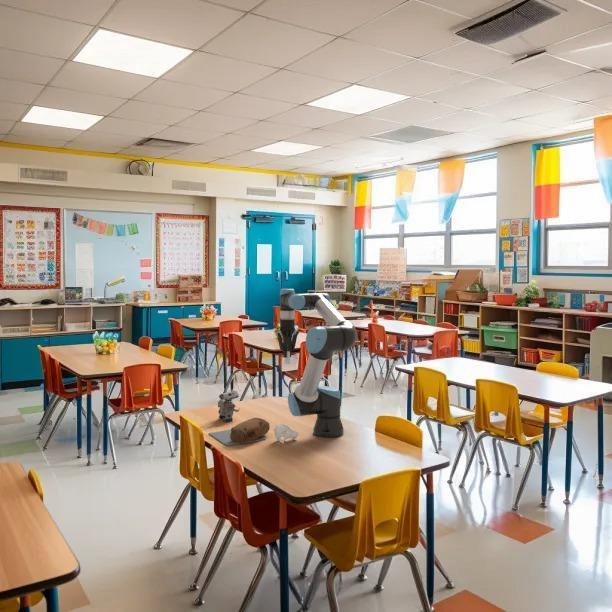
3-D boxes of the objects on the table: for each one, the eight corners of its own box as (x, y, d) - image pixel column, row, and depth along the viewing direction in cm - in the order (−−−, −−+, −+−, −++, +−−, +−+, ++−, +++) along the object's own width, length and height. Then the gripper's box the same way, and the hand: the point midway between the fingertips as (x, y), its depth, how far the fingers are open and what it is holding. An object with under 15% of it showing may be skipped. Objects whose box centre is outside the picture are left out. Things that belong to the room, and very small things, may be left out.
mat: (265, 439, 288) (265, 438, 288) (227, 446, 278) (227, 445, 278) (245, 428, 307) (245, 427, 307) (208, 434, 296) (208, 433, 296)
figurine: (242, 419, 323) (242, 392, 322) (222, 422, 317) (222, 394, 316) (235, 415, 331) (235, 389, 329) (216, 418, 325) (215, 391, 323)
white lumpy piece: (273, 422, 286) (296, 422, 291) (271, 440, 287) (294, 439, 292) (278, 426, 280) (301, 425, 285) (276, 444, 281) (300, 443, 286)
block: (253, 430, 301) (228, 441, 284) (253, 415, 300) (228, 426, 283) (271, 434, 295) (246, 446, 278) (271, 419, 294) (246, 430, 277)
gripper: (294, 317, 316) (294, 361, 318) (272, 318, 309) (272, 363, 311) (301, 318, 309) (301, 363, 311) (279, 319, 303) (279, 365, 305)
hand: (287, 363), depth 311 cm, fingers closed
